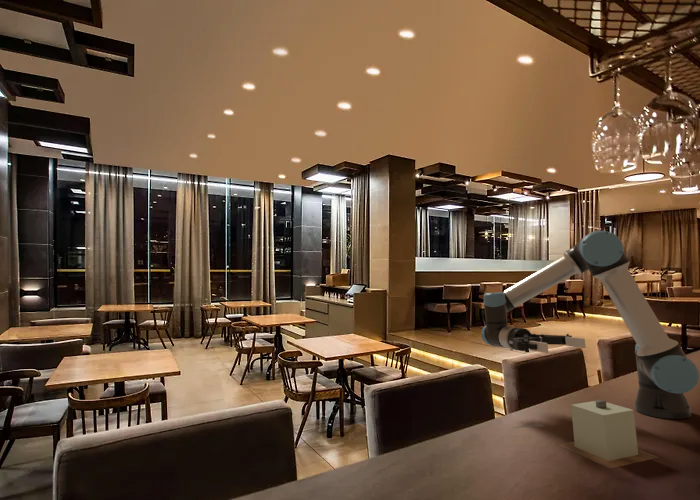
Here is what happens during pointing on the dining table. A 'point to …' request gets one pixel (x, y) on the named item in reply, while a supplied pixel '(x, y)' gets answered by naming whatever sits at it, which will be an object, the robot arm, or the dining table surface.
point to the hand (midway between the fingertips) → (565, 345)
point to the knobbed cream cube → (604, 429)
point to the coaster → (530, 425)
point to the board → (614, 463)
